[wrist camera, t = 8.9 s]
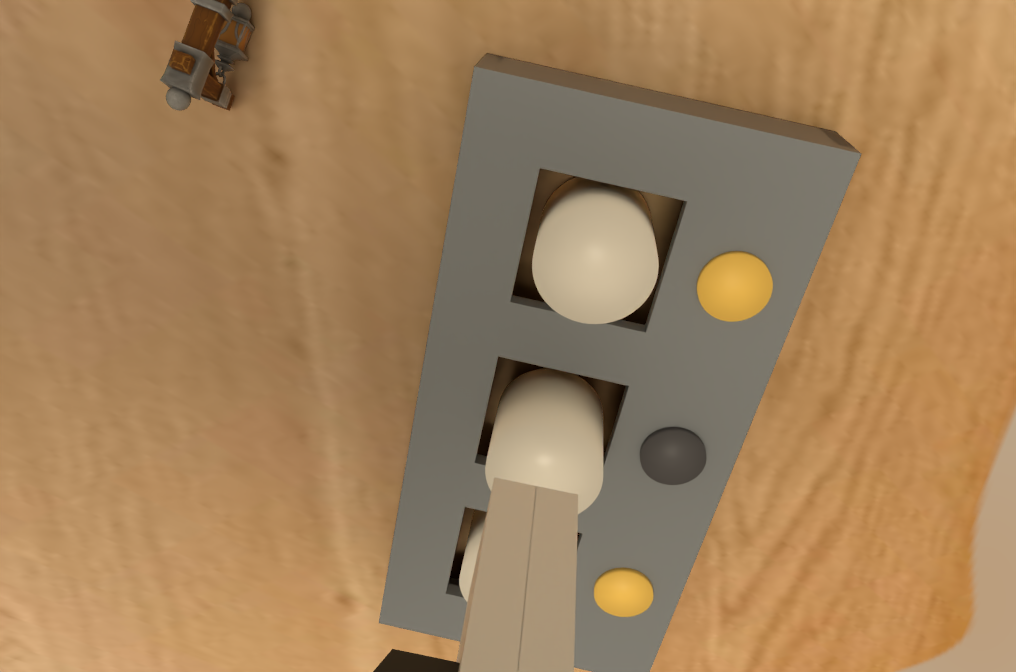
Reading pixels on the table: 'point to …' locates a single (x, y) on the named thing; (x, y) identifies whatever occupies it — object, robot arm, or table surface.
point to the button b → (549, 435)
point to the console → (612, 334)
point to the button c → (595, 251)
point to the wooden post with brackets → (207, 53)
